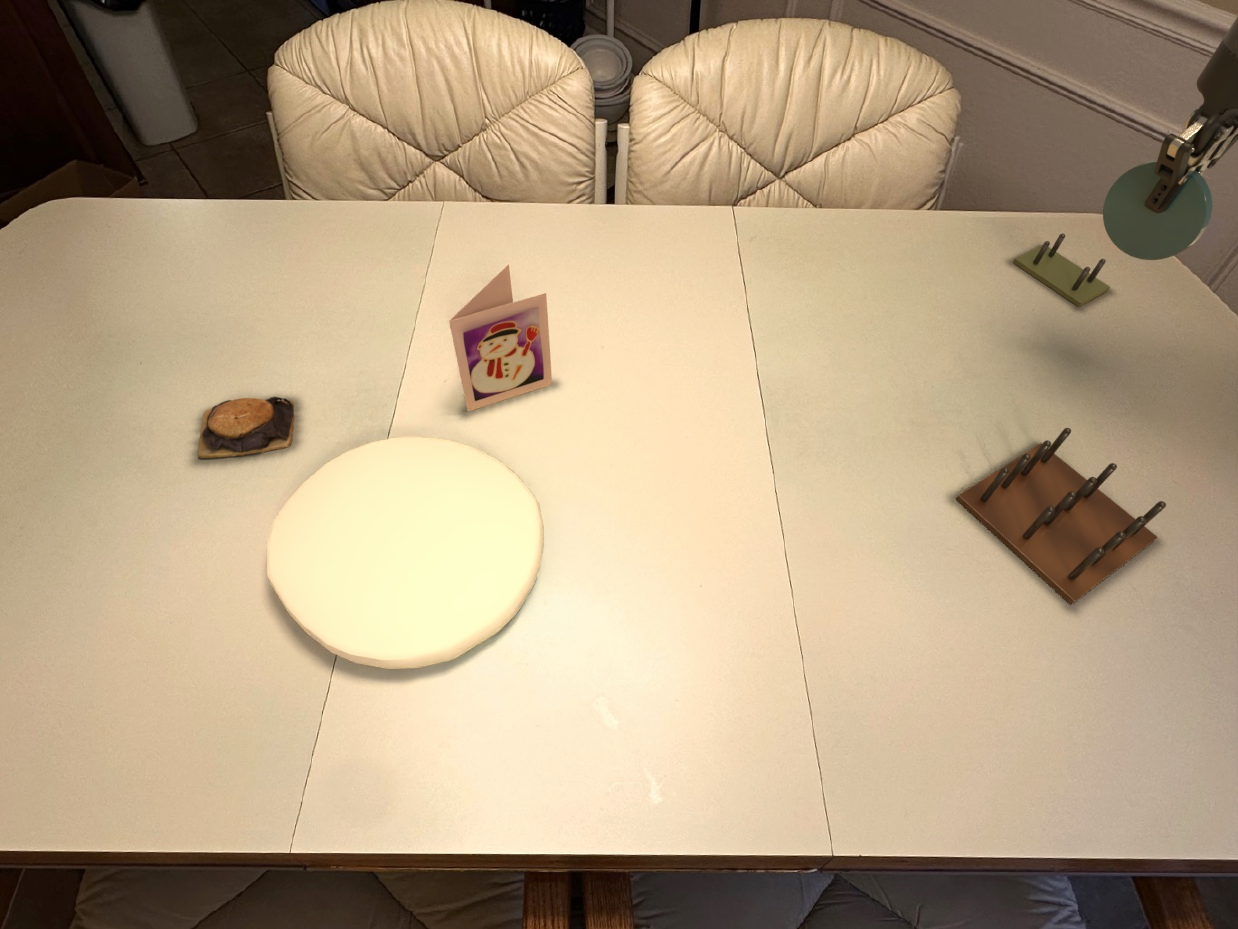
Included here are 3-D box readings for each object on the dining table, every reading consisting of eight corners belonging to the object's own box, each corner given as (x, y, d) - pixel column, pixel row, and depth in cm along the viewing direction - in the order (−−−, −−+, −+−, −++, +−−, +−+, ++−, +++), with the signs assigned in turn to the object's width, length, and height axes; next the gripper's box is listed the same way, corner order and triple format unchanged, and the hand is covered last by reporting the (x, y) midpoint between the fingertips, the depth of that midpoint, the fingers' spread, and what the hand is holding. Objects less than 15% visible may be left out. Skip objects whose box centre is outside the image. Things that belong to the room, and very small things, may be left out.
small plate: (1091, 225, 92) (1143, 141, 83) (1171, 275, 86) (1236, 190, 78) (1085, 228, 92) (1137, 144, 83) (1165, 278, 86) (1229, 193, 77)
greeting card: (469, 416, 93) (451, 325, 81) (451, 376, 96) (431, 285, 85) (554, 388, 96) (549, 297, 84) (533, 351, 100) (525, 259, 88)
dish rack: (1038, 446, 92) (1065, 410, 87) (1153, 540, 84) (1192, 507, 79) (955, 499, 87) (979, 464, 82) (1070, 604, 79) (1105, 573, 74)
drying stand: (1041, 248, 117) (1056, 221, 113) (1107, 291, 111) (1126, 264, 107) (1012, 262, 114) (1026, 236, 111) (1078, 307, 108) (1096, 280, 105)
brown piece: (197, 463, 87) (183, 444, 84) (207, 410, 92) (194, 390, 89) (292, 451, 89) (281, 431, 86) (296, 399, 93) (286, 378, 90)
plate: (580, 473, 82) (476, 699, 66) (576, 504, 87) (478, 720, 72) (350, 390, 84) (198, 590, 69) (359, 425, 89) (220, 618, 74)
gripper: (1266, 79, 66) (1150, 242, 80) (1346, 46, 71) (1223, 206, 85) (1190, 45, 70) (1091, 207, 84) (1270, 16, 75) (1164, 174, 88)
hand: (1158, 206), depth 84 cm, fingers closed on small plate, 1 cm apart
